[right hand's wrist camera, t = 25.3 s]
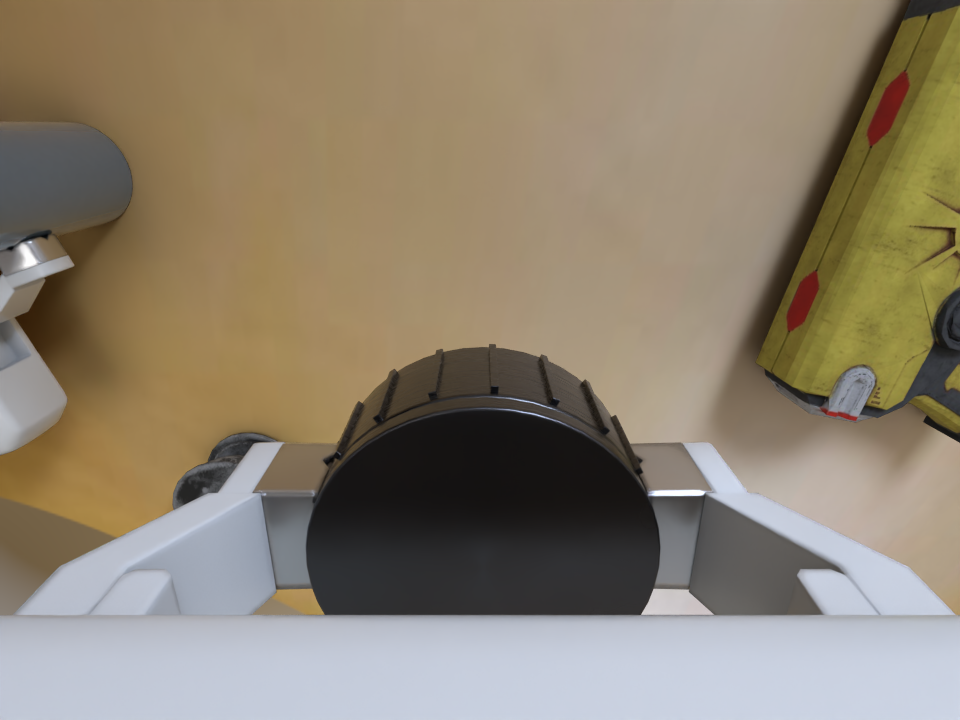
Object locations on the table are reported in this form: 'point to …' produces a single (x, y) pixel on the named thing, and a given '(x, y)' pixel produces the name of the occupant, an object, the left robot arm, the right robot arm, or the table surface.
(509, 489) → the lid
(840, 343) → the toy gun
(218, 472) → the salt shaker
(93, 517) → the table surface
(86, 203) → the grey cylindrical piece
